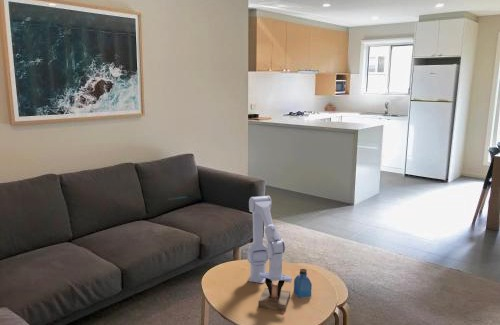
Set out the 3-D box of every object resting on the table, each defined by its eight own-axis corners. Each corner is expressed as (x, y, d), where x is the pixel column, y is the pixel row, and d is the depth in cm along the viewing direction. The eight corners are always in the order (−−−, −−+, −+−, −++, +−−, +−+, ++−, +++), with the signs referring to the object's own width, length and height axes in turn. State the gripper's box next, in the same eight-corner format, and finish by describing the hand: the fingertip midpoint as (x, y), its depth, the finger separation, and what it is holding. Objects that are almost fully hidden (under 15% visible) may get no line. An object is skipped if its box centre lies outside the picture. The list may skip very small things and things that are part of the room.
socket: (264, 293, 188) (265, 287, 187) (290, 297, 185) (290, 291, 184) (258, 307, 176) (258, 300, 176) (285, 311, 173) (285, 305, 173)
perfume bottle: (298, 298, 184) (299, 274, 182) (293, 291, 190) (294, 268, 188) (311, 296, 186) (312, 272, 184) (305, 289, 192) (306, 266, 189)
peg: (271, 296, 182) (272, 282, 181) (278, 297, 181) (279, 283, 180) (270, 300, 179) (270, 285, 177) (277, 301, 178) (278, 286, 177)
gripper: (257, 268, 175) (257, 296, 178) (290, 272, 171) (289, 301, 174) (261, 261, 182) (260, 288, 184) (292, 265, 178) (291, 293, 181)
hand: (274, 294), depth 180 cm, fingers closed on peg, 3 cm apart
